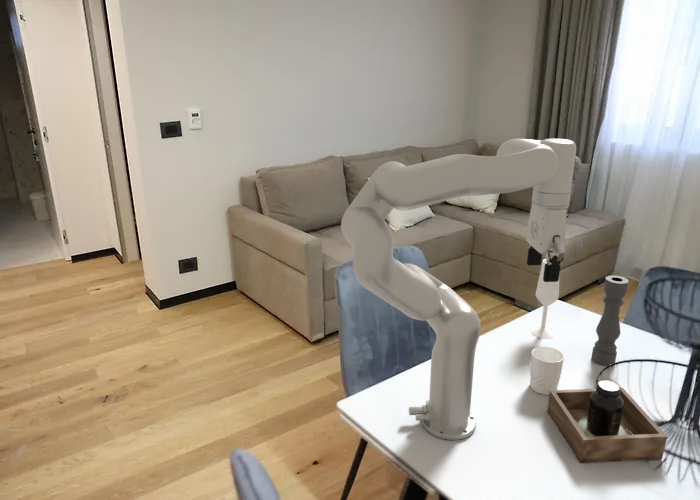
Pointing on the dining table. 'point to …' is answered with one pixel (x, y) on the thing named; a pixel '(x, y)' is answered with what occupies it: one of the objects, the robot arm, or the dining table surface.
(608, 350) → the candle holder
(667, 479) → the dining table surface
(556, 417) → the walnut box
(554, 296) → the champagne flute
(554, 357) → the white cup
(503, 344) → the dining table surface
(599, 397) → the supplement bottle
